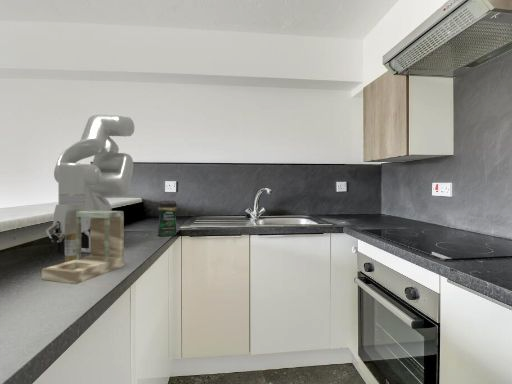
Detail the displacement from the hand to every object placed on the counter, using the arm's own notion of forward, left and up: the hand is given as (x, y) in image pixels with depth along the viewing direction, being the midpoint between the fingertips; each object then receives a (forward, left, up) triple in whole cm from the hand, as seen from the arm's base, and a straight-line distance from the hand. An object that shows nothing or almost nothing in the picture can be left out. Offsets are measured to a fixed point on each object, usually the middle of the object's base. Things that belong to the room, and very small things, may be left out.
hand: (72, 251), depth 97 cm
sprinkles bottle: (0, 0, -5) cm, 5 cm away
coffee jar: (-59, -2, -5) cm, 59 cm away
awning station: (+5, +12, -4) cm, 14 cm away
